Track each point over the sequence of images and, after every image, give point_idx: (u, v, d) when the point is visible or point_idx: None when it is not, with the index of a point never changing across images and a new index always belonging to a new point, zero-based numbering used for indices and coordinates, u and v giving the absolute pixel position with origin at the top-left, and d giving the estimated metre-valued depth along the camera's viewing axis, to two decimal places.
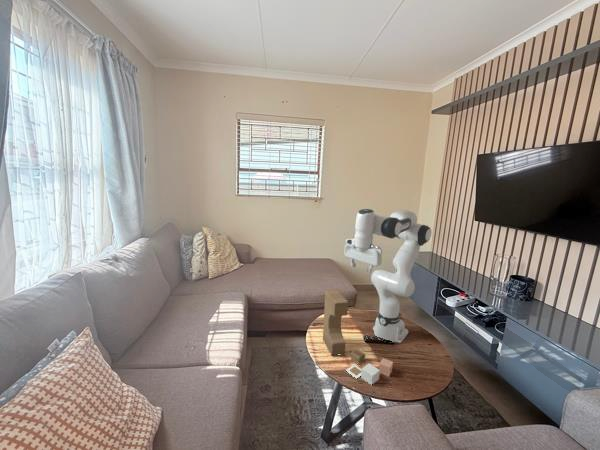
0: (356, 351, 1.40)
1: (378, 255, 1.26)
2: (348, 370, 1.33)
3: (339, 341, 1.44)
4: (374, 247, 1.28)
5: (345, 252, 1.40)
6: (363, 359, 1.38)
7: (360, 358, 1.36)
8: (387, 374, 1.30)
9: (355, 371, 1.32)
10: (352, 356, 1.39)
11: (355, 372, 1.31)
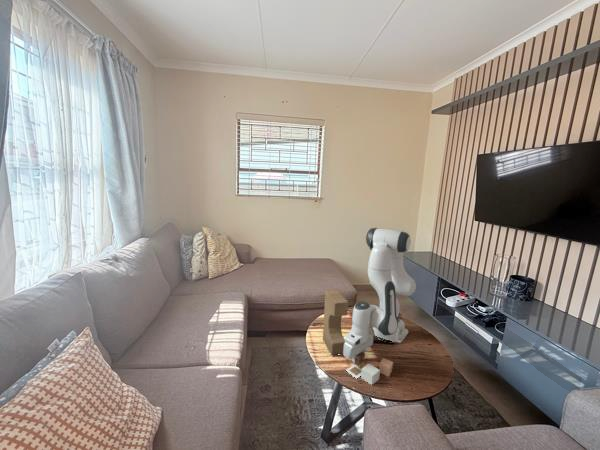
0: None
1: None
2: (348, 370, 1.33)
3: (339, 341, 1.44)
4: (368, 331, 1.41)
5: (350, 355, 1.31)
6: (363, 359, 1.38)
7: (360, 358, 1.36)
8: (387, 374, 1.30)
9: (355, 371, 1.32)
10: None
11: (355, 372, 1.31)
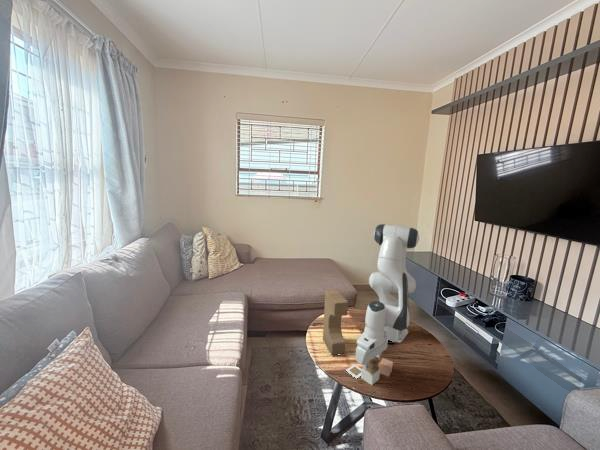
0: None
1: None
2: (348, 370, 1.33)
3: (339, 341, 1.44)
4: None
5: (364, 360, 1.19)
6: (377, 366, 1.26)
7: (374, 365, 1.24)
8: (387, 374, 1.30)
9: (355, 371, 1.32)
10: None
11: (355, 372, 1.31)
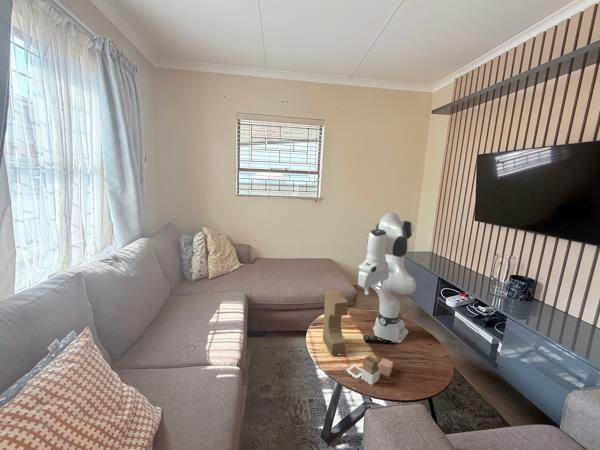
0: (369, 358, 1.28)
1: None
2: (348, 370, 1.33)
3: (339, 341, 1.44)
4: None
5: (366, 283, 1.22)
6: (376, 366, 1.26)
7: (373, 365, 1.24)
8: (387, 374, 1.30)
9: (355, 371, 1.32)
10: (364, 363, 1.27)
11: (355, 372, 1.31)
